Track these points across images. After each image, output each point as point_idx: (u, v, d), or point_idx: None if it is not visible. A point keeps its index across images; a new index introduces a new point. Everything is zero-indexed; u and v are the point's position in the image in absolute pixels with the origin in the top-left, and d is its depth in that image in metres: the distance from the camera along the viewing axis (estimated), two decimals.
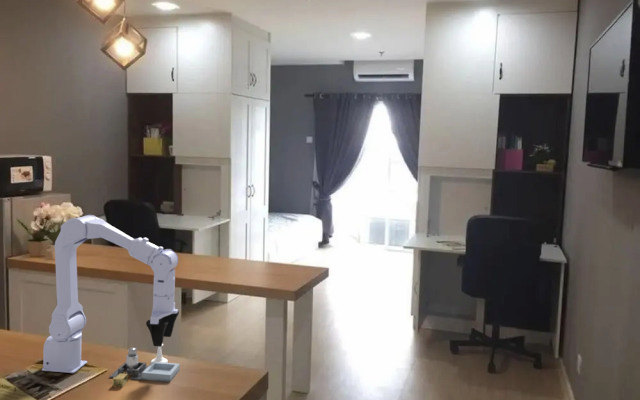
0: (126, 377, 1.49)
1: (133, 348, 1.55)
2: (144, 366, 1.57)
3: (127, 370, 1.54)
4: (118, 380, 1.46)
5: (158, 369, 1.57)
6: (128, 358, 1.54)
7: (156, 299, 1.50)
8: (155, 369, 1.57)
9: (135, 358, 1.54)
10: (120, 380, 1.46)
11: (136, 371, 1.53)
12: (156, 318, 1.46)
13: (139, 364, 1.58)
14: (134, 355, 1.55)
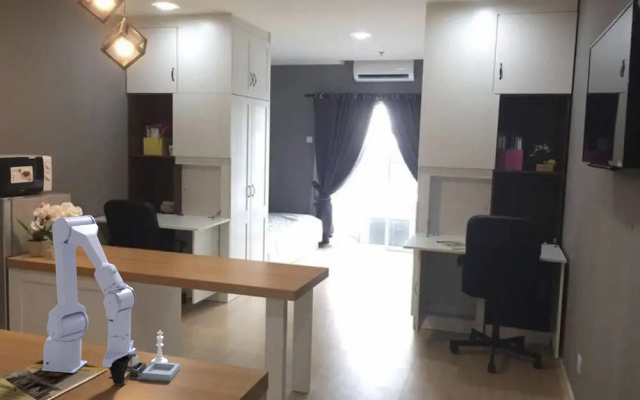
0: (128, 375, 1.50)
1: (133, 348, 1.55)
2: (144, 366, 1.57)
3: (127, 370, 1.54)
4: None
5: (158, 369, 1.57)
6: None
7: (110, 339, 1.43)
8: (155, 369, 1.57)
9: (135, 358, 1.54)
10: None
11: (136, 371, 1.53)
12: (109, 361, 1.38)
13: (139, 364, 1.58)
14: (134, 355, 1.55)
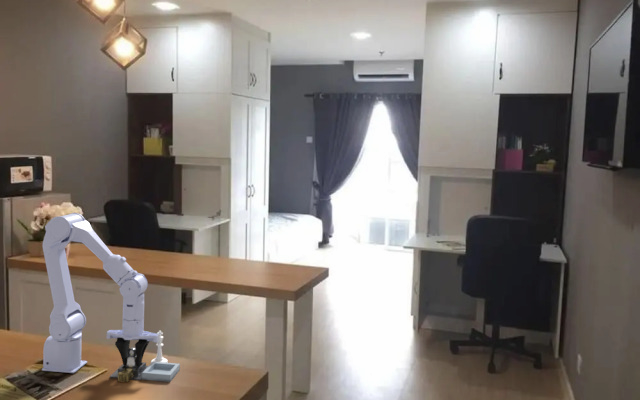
0: (131, 372, 1.52)
1: (133, 348, 1.55)
2: (144, 366, 1.57)
3: None
4: (123, 375, 1.49)
5: (158, 369, 1.57)
6: (128, 358, 1.54)
7: None
8: (155, 369, 1.57)
9: (135, 358, 1.54)
10: (125, 375, 1.49)
11: (136, 371, 1.53)
12: None
13: None
14: (134, 355, 1.55)
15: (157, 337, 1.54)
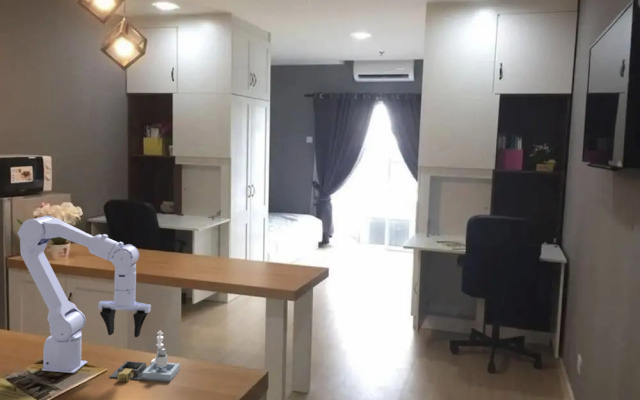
0: (131, 372, 1.52)
1: (162, 348, 1.55)
2: (144, 366, 1.57)
3: (157, 370, 1.54)
4: (123, 375, 1.49)
5: None
6: (158, 358, 1.53)
7: None
8: (155, 369, 1.57)
9: (165, 358, 1.54)
10: (125, 375, 1.49)
11: (136, 371, 1.53)
12: None
13: (139, 364, 1.58)
14: (164, 355, 1.54)
15: (149, 308, 1.54)
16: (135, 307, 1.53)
